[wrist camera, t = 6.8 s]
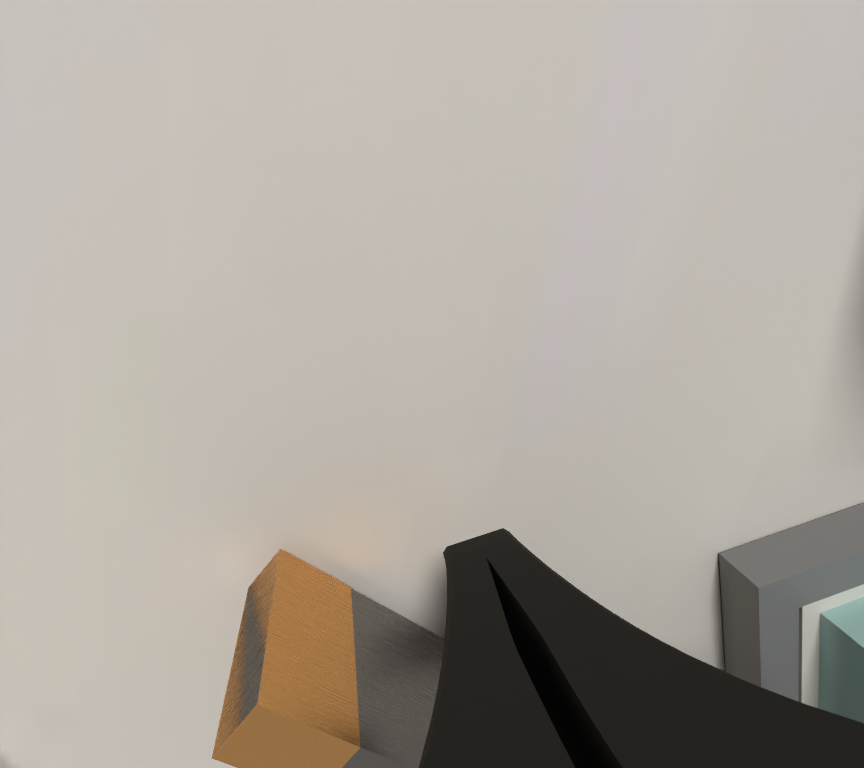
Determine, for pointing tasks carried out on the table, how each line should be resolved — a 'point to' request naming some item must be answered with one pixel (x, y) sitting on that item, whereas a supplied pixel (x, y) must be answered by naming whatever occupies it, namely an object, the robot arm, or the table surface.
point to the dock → (784, 593)
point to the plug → (833, 654)
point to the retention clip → (325, 677)
